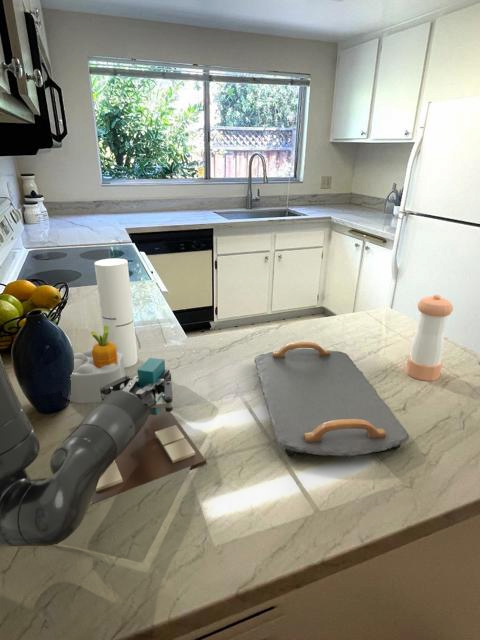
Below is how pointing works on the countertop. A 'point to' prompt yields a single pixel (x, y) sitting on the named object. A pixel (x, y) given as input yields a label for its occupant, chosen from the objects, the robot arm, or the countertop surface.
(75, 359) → the lumpy-topped squat cylinder
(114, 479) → the word board
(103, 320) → the cylindrical container
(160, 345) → the countertop surface
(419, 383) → the countertop surface
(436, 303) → the pepper shaker
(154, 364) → the teal rectangular block
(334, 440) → the serving tray
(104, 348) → the carrot
